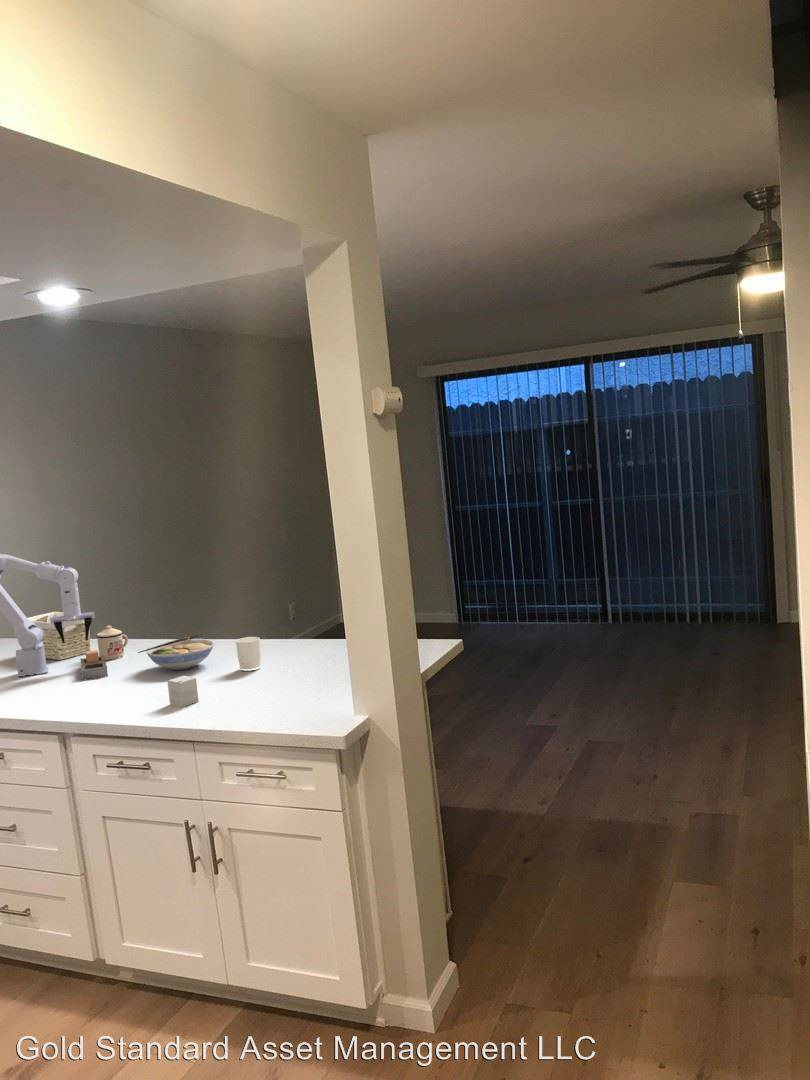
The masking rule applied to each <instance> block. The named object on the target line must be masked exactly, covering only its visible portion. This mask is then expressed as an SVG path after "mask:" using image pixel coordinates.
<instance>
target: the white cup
mask: <svg viewBox="0 0 810 1080" xmlns="http://www.w3.org/2000/svg"><path fill="white" fill-rule="evenodd" d="M235 646H236V647H235V648H236V653H237V660H238V664H239V670H240V669H252V668H256V667H259V666H260V665H261V660H262V659H261V657H262V656H261V655H262V654H261V638H260V637H258V636H246V637H241V638H237V639H235Z"/></svg>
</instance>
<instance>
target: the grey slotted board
mask: <svg viewBox="0 0 810 1080" xmlns="http://www.w3.org/2000/svg"><path fill="white" fill-rule="evenodd" d="M98 656H99V655H98ZM80 668H81V676H82V681H85V680H84V679H86V680H90V679H91V680H92V678H93V679H98V677H99V678H104V677H103V676H106V677H109V674H108V666H107V660H105V656H99V661H95V662H88V663H87V660H86V657H83V658H80Z"/></svg>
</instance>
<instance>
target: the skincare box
mask: <svg viewBox="0 0 810 1080" xmlns="http://www.w3.org/2000/svg"><path fill="white" fill-rule="evenodd" d="M197 683H198V682H197V677H192V676H188V675H181V676H178V677H175V678H171V679H168V680H167V691H168V698H169V705H171V706H176V707H179V706H180V708H184V707H188V706H189V705H193V704H195V702H196V703H198V702H200V701H199V692H198V684H197ZM192 703H193V704H192Z"/></svg>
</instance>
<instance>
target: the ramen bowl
mask: <svg viewBox="0 0 810 1080" xmlns="http://www.w3.org/2000/svg"><path fill="white" fill-rule="evenodd" d="M198 637H199V634H191V635H187V636H184V637H181V638H177V639H175V640H171V641H165V642H161V643H158V644H155V645H152V646H149V647H148V648H147V649H143V650H141V651H138V652H137V654H140V653H143V652H146V654H147V656H148V658H149V659H150V660H151V661H152V662H153V663H154V664H155V665H158V666H159V667H163V668H165V669H170V670H173V671H183V669H185V670H189V669H192V668H193V667H194V666H196V665H198V664H200V663H202V662H203V661H205V659H206V658H208V657H209V655H210V654H211V652H212V650H213V649H214V646H215V642H214V640H211V639H206V638H198ZM191 667H192V668H191ZM188 668H189V669H188Z"/></svg>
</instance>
